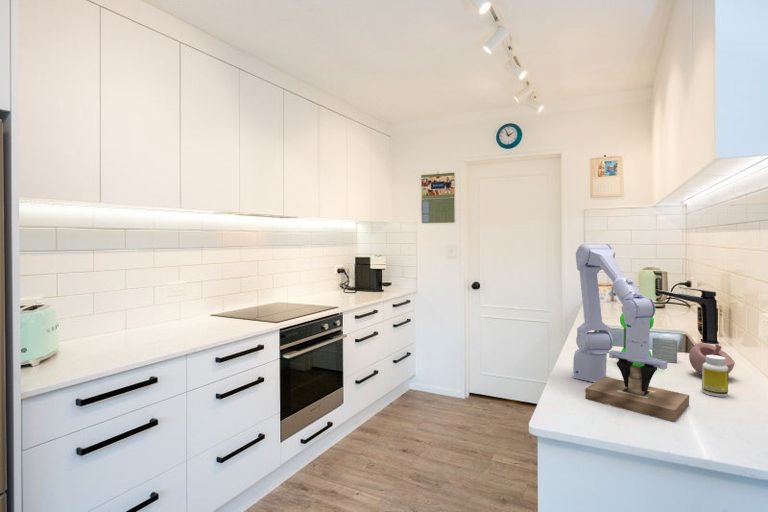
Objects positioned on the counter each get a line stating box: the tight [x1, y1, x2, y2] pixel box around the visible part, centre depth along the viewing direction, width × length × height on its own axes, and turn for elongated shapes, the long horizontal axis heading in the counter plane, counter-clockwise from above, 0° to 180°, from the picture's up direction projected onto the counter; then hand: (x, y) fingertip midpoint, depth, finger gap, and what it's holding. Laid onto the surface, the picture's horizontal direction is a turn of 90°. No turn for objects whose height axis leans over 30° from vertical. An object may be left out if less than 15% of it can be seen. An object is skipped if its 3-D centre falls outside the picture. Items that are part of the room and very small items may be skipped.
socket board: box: [584, 376, 690, 422], centre depth 123 cm, size 22×15×3 cm
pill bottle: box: [701, 355, 730, 398], centre depth 129 cm, size 6×6×11 cm
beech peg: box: [628, 365, 644, 396], centre depth 123 cm, size 4×4×9 cm
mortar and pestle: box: [688, 342, 736, 375], centre depth 144 cm, size 12×12×12 cm
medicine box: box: [651, 335, 678, 364], centre depth 164 cm, size 8×4×9 cm, turn 58°
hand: (636, 388), depth 123 cm, fingers closed on beech peg, 4 cm apart
